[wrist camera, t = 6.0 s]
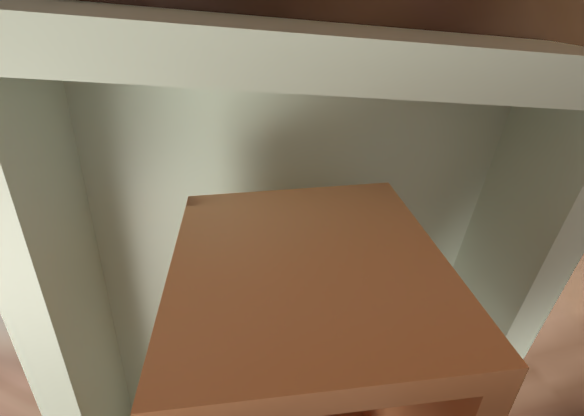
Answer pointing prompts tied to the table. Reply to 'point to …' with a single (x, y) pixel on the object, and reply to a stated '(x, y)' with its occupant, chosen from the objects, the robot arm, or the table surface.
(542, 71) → the big crate
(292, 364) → the box
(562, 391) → the table surface
